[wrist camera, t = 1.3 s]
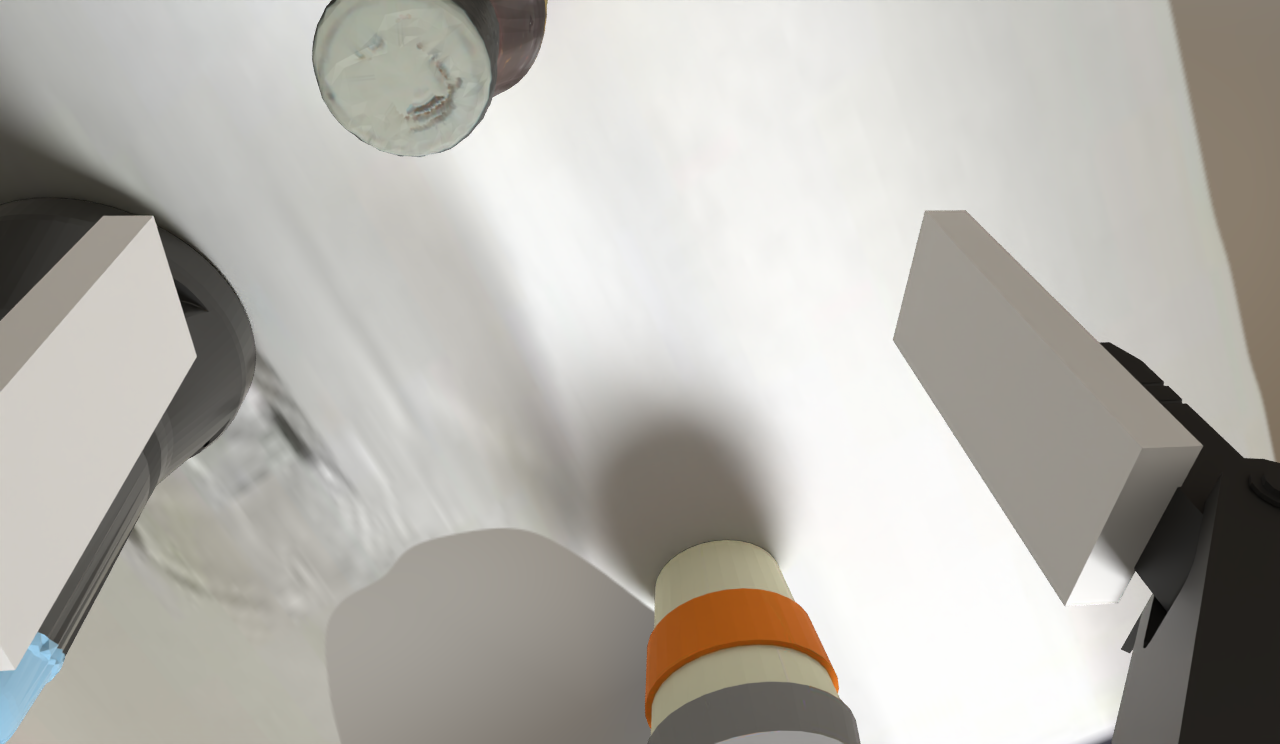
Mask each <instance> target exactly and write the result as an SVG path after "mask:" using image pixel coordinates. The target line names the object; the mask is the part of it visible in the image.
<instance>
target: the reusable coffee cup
mask: <svg viewBox="0 0 1280 744" xmlns="http://www.w3.org/2000/svg"><path fill="white" fill-rule="evenodd" d="M838 690H839V686H838V678H837V675H836V673H835V671H834V669H833V667H832V665H831V663H830V660H829V658H828V656H827V654H826V652H825V650H824V648H823V646H822V644H821V641H820V639H819V637H818V635H817V633H816V631H815V629H814V627H813V625H812V622H811V620H810V618H809V616H808V614H807V613H806V612H805V611H804V609H803V608H802V607H801V606H800V605H799V604H797V603H796V602H795V601H794V599H793V596H792V594H791V592H790V590H789V588H788V586H787V583H786V581H785V579H784V577H783V575H782V573H781V571H780V568H779V566H778V564H777V562H776V560H775V559H774V558H773V557H772V556H771V555H770V554H769V553H768V552H767V551H765V550H764V549H762V548H761V547H758V546H756V545H753V544H751V543H747V542H742V541H734V540H720V541H712V542H707V543H702V544H699V545H696V546H694V547H691V548H689V549H687V550H685V551H683V552H681V553H679V554H678V555H676V556H675V557H674V558H673V559H671V560H670V561H669V562H668V563H667V564H666V565H665V566H664V567H663V569H662V570H661V572H660V574H659V576H658V578H657V581H656V585H655V617H654V630H653V632H652V634H651V635H650V640H649V642H648V646H647V669H646V696H645V697H646V698H645V716H646V719H647V722H648V724H649V726H650V728H651V737H650V738H649V741H648V744H860V739H859V734H858V729H857V724H856V720H855V718H854V716H853V714H852V712H851V710H850V709H849V708H848V707H847V706H846V705H845V704H844V702H843V701H842V700H840V698H839V696H838Z"/></svg>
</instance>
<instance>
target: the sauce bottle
mask: <svg viewBox="0 0 1280 744" xmlns="http://www.w3.org/2000/svg"><path fill="white" fill-rule="evenodd" d="M547 1H548V0H332V1H331V2H330V3H329V4H328V5H327V6H326V8H325V10H324V12H323V15H322V17H321V18H320V20H319V22H318V24H317V28H316V32H315V35H314V41H313V50H312V61H313V67H314V72H315V76H316V79H317V82H318V86H319V89H320V92H321V95H322V98H323V100H324V102H325V103H326V105H327V107H328V108H329V110H330V112H331V113H332V114H333V116H334V117H335V118H336V119H337V121H338V122H339V123H340V124H341V125H342V126H343V127H344V128H345V129H346V130H348V131H349V132H351V133H352V134H354V135H355V136H356V137H357V138H359V139H360V140H361V141H363V142H365V143H367V144H369V145H371V146H373V147H375V148H376V149H378V150H380V151H383V152H387V153H391V154H395V155H398V156H414V157H422V156H425V155H429V154H435V153H441V152H443V151H446V150H449V149H451V148H453V147H454V146H456V145H457V144H458V143H459V142H461V141H462V140H463V139H465V138H466V137H467V136H469V134H470V133H471V132H472V131H473V130H474V128H475V127H476V126H477V125H478V124H479V123H480V122H481V120H482V119H483V118H484V115H485V113H486V111H487V109H488V107H489V106H490V103H491V100H492V97H494V96H496V95H498V94H500V93H502V92H504V91H506V90H508V89H510V88H511V87H512V86H514V85H515V84H517V83H518V82H519V81H520V80H521V79H522V78H523V77H524V76H525V75H526V74H527V72H528V71H529V69H530V68H531V66H532V65H533V63H534V61H535V59H536V57H537V55H538V53H539V50H540V48H541V44H542V40H543V36H544V31H545V24H546V17H547Z"/></svg>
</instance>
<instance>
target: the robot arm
mask: <svg viewBox="0 0 1280 744" xmlns="http://www.w3.org/2000/svg"><path fill="white" fill-rule="evenodd" d="M893 341H894V343H895V344H896V346H897V347H898V349H899V350H900V352H901V353H902V355H903V357H904V358H905V360H906V361H907V363H908V364H909V366H910V367H911V369H912V370H913V372H914V374H915V375H916V377H917V378H918V380H919V381H920V383H921V384H922V386H923V388H924V389H925V391H926V392H927V394H928V395H929V397H930V398H931V400H932V401H933V403H934V405H935V406H936V408H937V409H938V411H939V412H940V414H941V415H942V417H943V418H944V420H945V422H946V423H947V425H948V426H949V428H950V429H951V431H952V432H953V434H954V436H955V437H956V439H957V440H958V442H959V443H960V445H961V446H962V448H963V449H964V451H965V453H966V454H967V456H968V457H969V459H970V460H971V462H972V463H973V465H974V466H975V468H976V470H977V471H978V473H979V474H980V476H981V477H982V479H983V480H984V482H985V484H986V485H987V487H988V488H989V490H990V491H991V493H992V494H993V496H994V497H995V499H996V501H997V502H998V504H999V505H1000V507H1001V508H1002V510H1003V511H1004V513H1005V514H1006V516H1007V518H1008V519H1009V521H1010V522H1011V524H1012V525H1013V527H1014V528H1015V530H1016V532H1017V533H1018V535H1019V536H1020V538H1021V539H1022V541H1023V542H1024V544H1025V545H1026V547H1027V549H1028V550H1029V552H1030V553H1031V555H1032V556H1033V558H1034V559H1035V561H1036V563H1037V564H1038V566H1039V567H1040V569H1041V570H1042V572H1043V573H1044V575H1045V576H1046V578H1047V580H1048V581H1049V583H1050V584H1051V586H1052V587H1053V589H1054V590H1055V592H1056V593H1057V595H1058V597H1059V598H1060V600H1061V601H1062V603H1063V604H1064V606H1079V605H1096V604H1112V603H1118V602H1119V600H1120V598H1121V597H1122V595H1123V593H1124V591H1125V589H1126V587H1127V586H1128V584H1129V582H1130V580H1131V578H1132V576H1133V574H1134V573H1135V571H1136V572H1137V573H1138V575H1139V576H1140V577H1141V579H1142V580H1143V581H1144V583H1145V584H1146V585H1147V586H1148V588H1149V589H1150V590H1151V592H1152V593H1153V594H1152V596H1151V597H1150V599H1149V601H1148V603H1147V604H1146V606H1145V608H1144V610H1143V611H1142V613H1141V615H1140V617H1139V618H1138V620H1137V622H1136V624H1135V625H1134V627H1133V629H1132V631H1131V632H1130V634H1129V636H1128V638H1127V639H1126V641H1125V643H1124V645H1123V646H1122V648H1121V650H1124V651H1126V652H1128V653H1130V652H1131V651H1132V650H1133V653H1132V657H1131V661H1130V666H1129V670H1128V674H1127V678H1126V683H1125V687H1124V691H1123V696H1122V700H1121V704H1120V708H1119V713H1118V717H1117V721H1116V725H1115V730H1114V734H1113V738H1112V742H1111V744H1280V463H1277V462H1273V461H1269V460H1265V459H1251V458H1243V457H1242V456H1241V455H1240V454H1239V453H1238V452H1237V451H1236V450H1235V449H1234V448H1233V447H1232V446H1231V445H1230V444H1229V443H1228V442H1227V441H1225V440H1224V439H1223V438H1222V437H1221V436H1220V435H1219V434H1218V433H1217V432H1216V431H1215V430H1214V429H1213V428H1212V427H1211V426H1210V425H1209V424H1208V423H1207V422H1206V421H1204V420H1203V419H1202V418H1201V417H1200V416H1199V415H1198V414H1197V413H1196V412H1195V411H1194V410H1193V409H1192V408H1191V407H1190V406H1189V405H1188V404H1182V399H1181V398H1180V397H1179V396H1178V395H1177V394H1176V393H1175V392H1174V391H1173V390H1172V389H1171V388H1170V387H1169V386H1164V382H1163V381H1162V380H1161V379H1160V378H1159V377H1158V376H1157V375H1156V374H1155V373H1154V372H1153V371H1152V370H1151V369H1150V368H1149V367H1148V366H1147V365H1146V364H1145V363H1144V362H1142V361H1141V360H1140V359H1138V358H1136V357H1134V356H1133V355H1131V354H1129V353H1127V352H1126V351H1124V350H1122V349H1120V348H1119V347H1117V346H1115V345H1113V344H1112V343H1110V342H1105V343H1099V342H1098V341H1097V340H1096V339H1095V338H1094V337H1093V336H1092V335H1091V334H1090V333H1089V332H1088V331H1087V330H1086V329H1085V328H1084V327H1083V326H1082V325H1081V324H1080V323H1079V322H1078V321H1077V320H1076V319H1075V318H1074V317H1073V316H1072V315H1071V314H1070V313H1069V312H1068V311H1067V310H1066V309H1065V308H1064V307H1063V306H1062V305H1061V304H1060V303H1059V302H1058V301H1057V300H1056V299H1055V298H1054V297H1052V296H1051V295H1050V294H1049V293H1048V292H1047V291H1046V290H1045V289H1044V288H1043V287H1042V286H1041V285H1040V284H1039V283H1038V282H1037V281H1036V280H1035V279H1034V278H1033V277H1032V276H1031V275H1030V274H1029V273H1028V272H1027V271H1026V270H1025V269H1024V268H1023V267H1022V266H1021V265H1020V264H1019V263H1018V262H1017V261H1016V260H1015V259H1014V258H1013V257H1012V256H1011V255H1010V254H1009V253H1008V252H1007V251H1006V250H1005V249H1004V248H1003V247H1002V246H1001V245H1000V244H999V243H998V242H997V241H996V240H995V239H994V238H993V237H992V236H991V235H990V234H989V233H988V232H987V231H986V230H985V229H984V228H983V227H982V226H981V225H980V224H979V223H978V222H977V221H976V220H975V219H974V218H973V217H972V216H971V215H970V214H969V213H968V212H967V211H966V210H956V211H925V213H924V217H923V221H922V225H921V229H920V233H919V237H918V241H917V245H916V249H915V253H914V257H913V261H912V265H911V269H910V273H909V277H908V281H907V285H906V289H905V293H904V297H903V301H902V305H901V309H900V313H899V317H898V321H897V325H896V329H895V333H894V337H893ZM255 363H256V349H255V341H254V337H253V332H252V329H251V326H250V322H249V320H248V317H247V315H246V313H245V311H244V309H243V307H242V305H241V303H240V301H239V300H238V298H237V296H236V295H235V293H234V292H233V290H232V289H231V287H230V286H229V285H228V283H227V282H226V281H225V280H224V278H223V277H222V276H221V275H220V274H219V273H218V272H217V270H216V269H215V268H214V267H213V266H212V265H211V264H210V263H209V262H208V261H207V260H205V259H204V258H203V257H202V256H201V255H200V254H199V253H197V252H196V251H195V250H194V249H192V248H191V247H190V246H188V245H187V244H186V243H184V242H183V241H181V240H180V239H179V238H177V237H176V236H174V235H172V234H171V233H169V232H167V231H166V230H164V229H162V228H160V227H158V226H157V225H156V223H155V219H154V216H135V215H133V214H130V213H128V212H125V211H122V210H119V209H116V208H112V207H109V206H105V205H102V204H97V203H92V202H88V201H81V200H75V199H64V198H35V199H25V200H20V201H14V202H10V203H6V204H2V205H0V744H5V743H6V742H7V741H8V740H9V739H10V738H11V736H12V735H13V734H14V732H15V731H16V729H17V728H18V726H19V725H20V723H21V721H22V720H23V718H24V717H25V715H26V714H27V712H28V710H29V709H30V707H31V706H32V704H33V703H34V701H35V699H36V698H37V696H38V695H39V693H40V692H41V690H42V689H43V687H44V686H45V684H46V683H48V682H49V681H51V680H52V679H53V678H54V677H55V675H56V674H57V673H58V672H59V671H60V669H61V667H62V664H63V662H64V659H65V656H66V654H67V652H68V650H69V648H70V646H71V645H72V643H73V641H74V639H75V637H76V635H77V633H78V631H79V629H80V628H81V626H82V624H83V622H84V620H85V618H86V616H87V614H88V612H89V611H90V609H91V607H92V605H93V603H94V601H95V599H96V597H97V595H98V594H99V592H100V590H101V588H102V586H103V584H104V582H105V580H106V578H107V577H108V575H109V573H110V571H111V569H112V567H113V565H114V563H115V561H116V560H117V558H118V556H119V554H120V552H121V550H122V548H123V546H124V544H125V543H126V541H127V539H128V537H129V535H130V533H131V531H132V529H133V527H134V526H135V524H136V522H137V520H138V518H139V516H140V514H141V512H142V510H143V509H144V506H145V505H146V503H147V501H148V499H149V498H150V496H151V494H152V492H153V490H154V489H155V487H156V486H157V485H158V484H159V483H160V482H161V481H162V480H164V479H165V478H166V477H167V476H168V475H170V474H171V473H172V472H173V471H174V470H176V469H177V468H178V467H179V466H180V465H182V464H183V463H184V462H185V461H186V460H188V459H189V458H191V457H193V456H195V455H196V454H198V453H200V452H201V451H202V450H204V449H205V448H207V447H208V446H209V445H211V444H212V443H213V442H214V441H215V440H217V439H218V438H219V437H220V436H221V435H222V434H223V432H224V431H225V430H226V429H227V428H228V426H229V425H230V424H231V422H232V421H233V419H234V418H235V416H236V414H237V412H238V410H239V409H240V407H241V405H242V403H243V401H244V399H245V397H246V395H247V393H248V391H249V388H250V386H251V383H252V380H253V376H254V371H255ZM1133 648H1134V649H1133Z"/></svg>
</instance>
